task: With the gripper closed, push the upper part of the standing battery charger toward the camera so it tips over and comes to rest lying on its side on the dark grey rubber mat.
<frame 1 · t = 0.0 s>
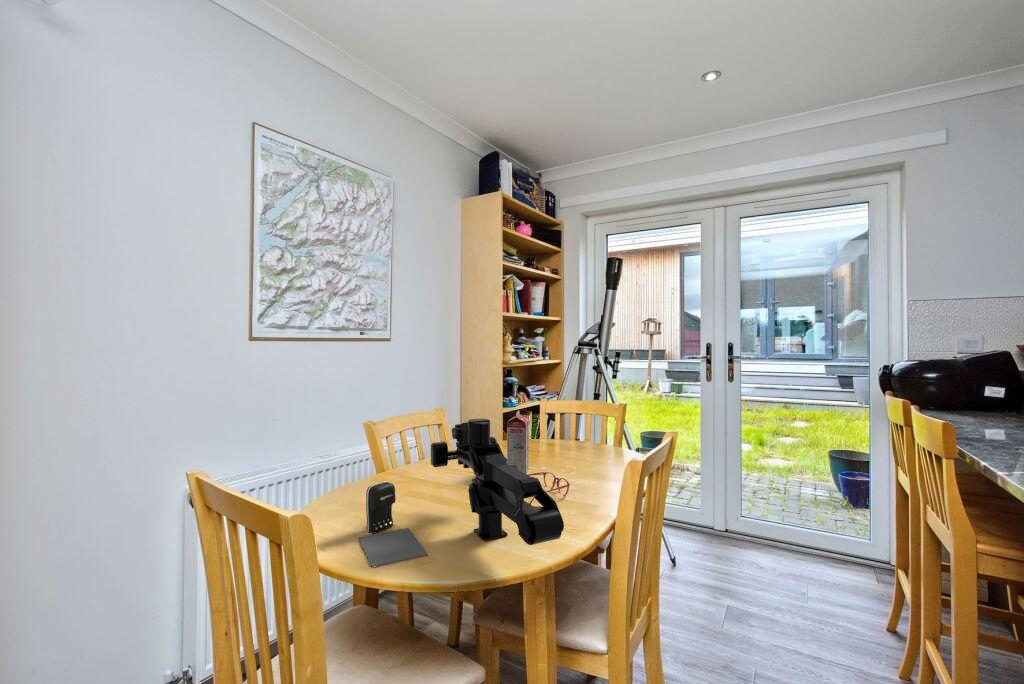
hand: (454, 445, 137), 17 cm above the table, tool horizontal, fingers open, 9 cm apart
juice carton: (517, 474, 166), on the table
red eyeglasses: (536, 496, 144), on the table
battery charger: (381, 530, 118), on the table
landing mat: (391, 546, 108), on the table
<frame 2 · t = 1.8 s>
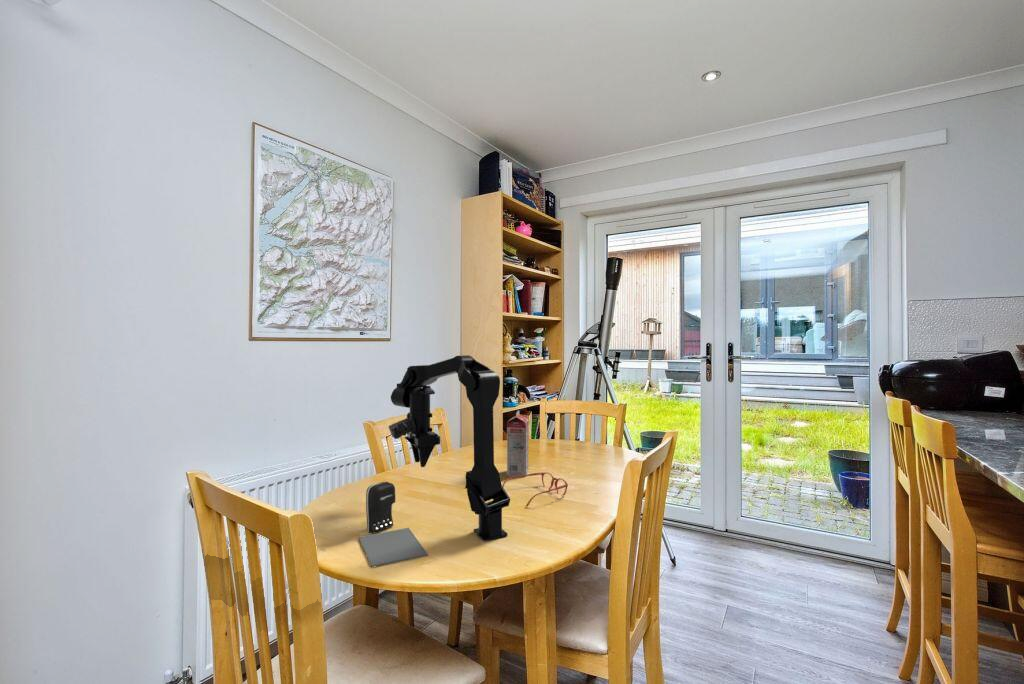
hand: (420, 464, 133), 12 cm above the table, tool pointing down, fingers open, 5 cm apart
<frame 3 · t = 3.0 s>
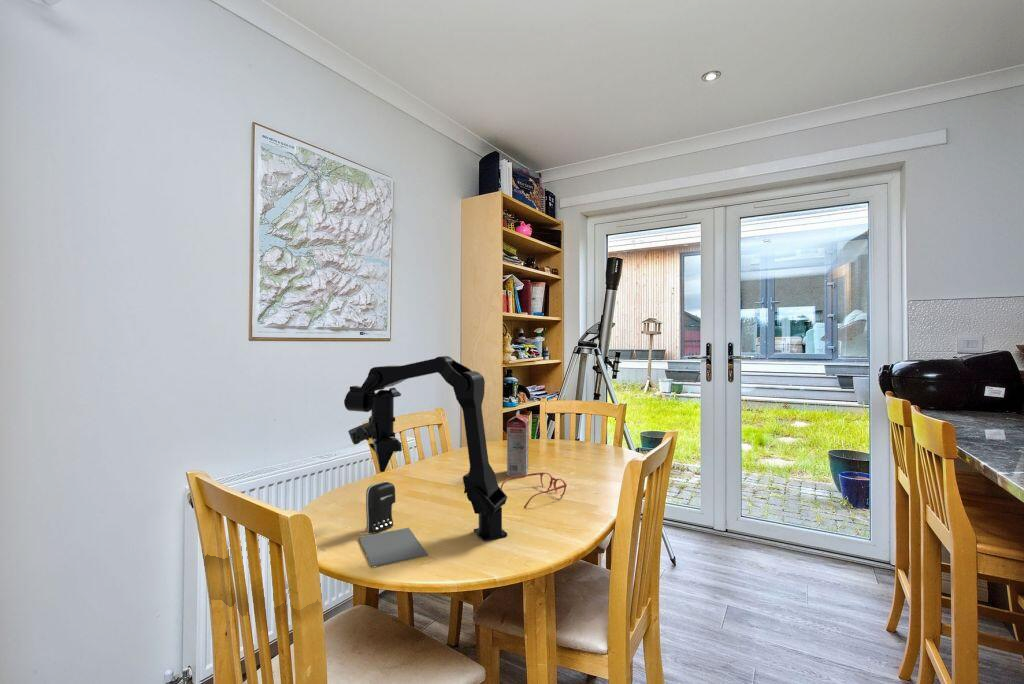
hand: (382, 471, 125), 12 cm above the table, tool pointing down, fingers closed
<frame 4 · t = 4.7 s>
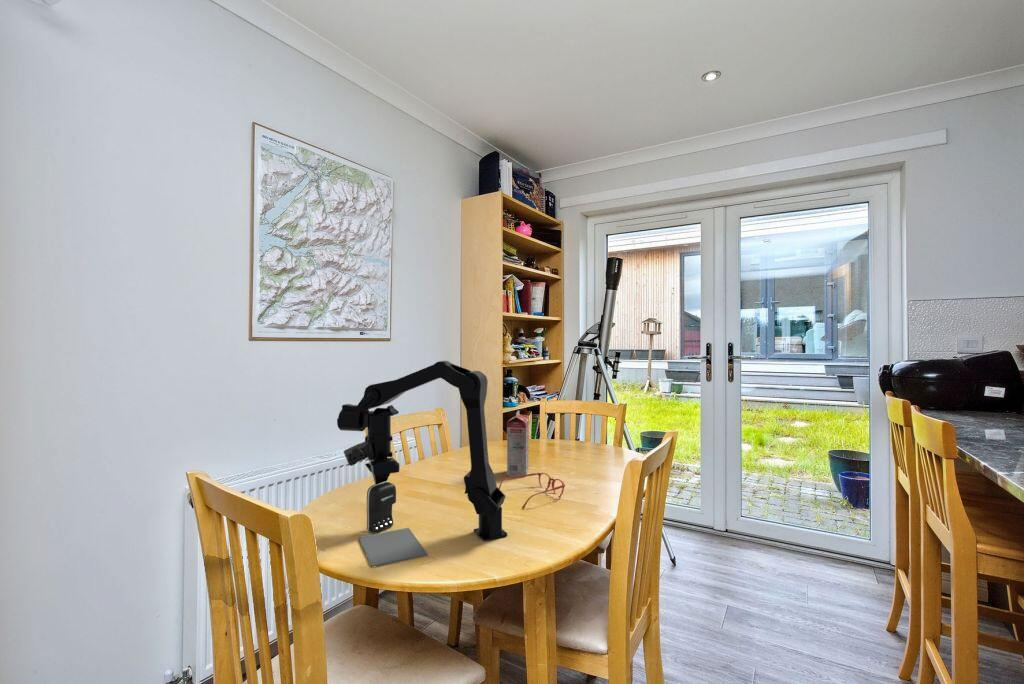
hand: (379, 492, 121), 8 cm above the table, tool pointing down, fingers closed
battery charger: (381, 529, 118), on the table, touching gripper
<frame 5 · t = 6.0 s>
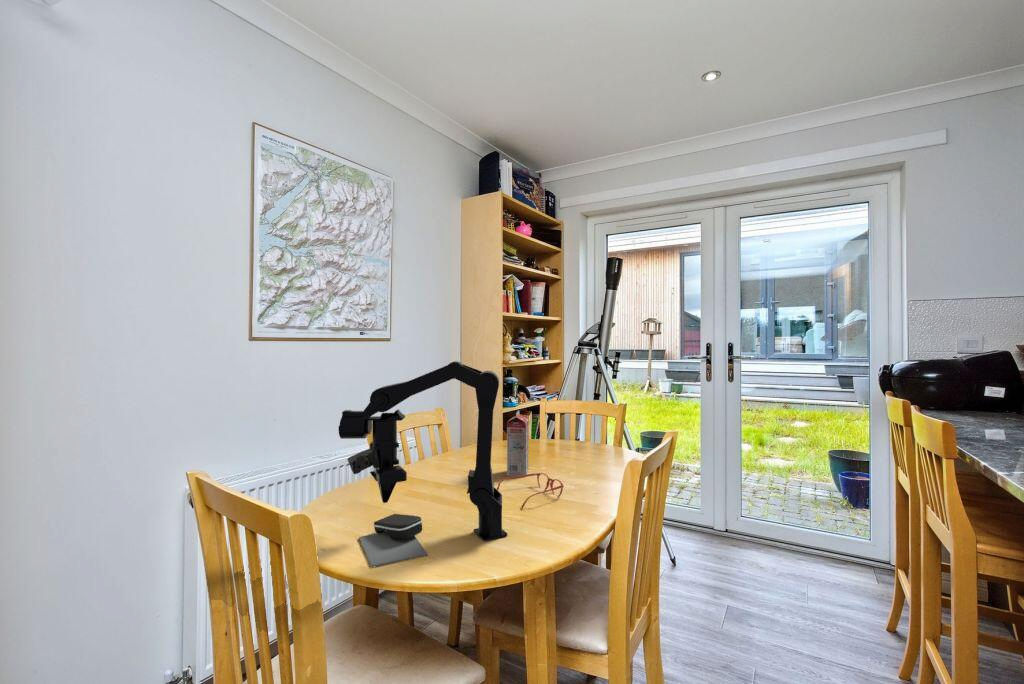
hand: (385, 502, 114), 8 cm above the table, tool pointing down, fingers closed
battery charger: (384, 525, 117), point 1 cm above the table, touching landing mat
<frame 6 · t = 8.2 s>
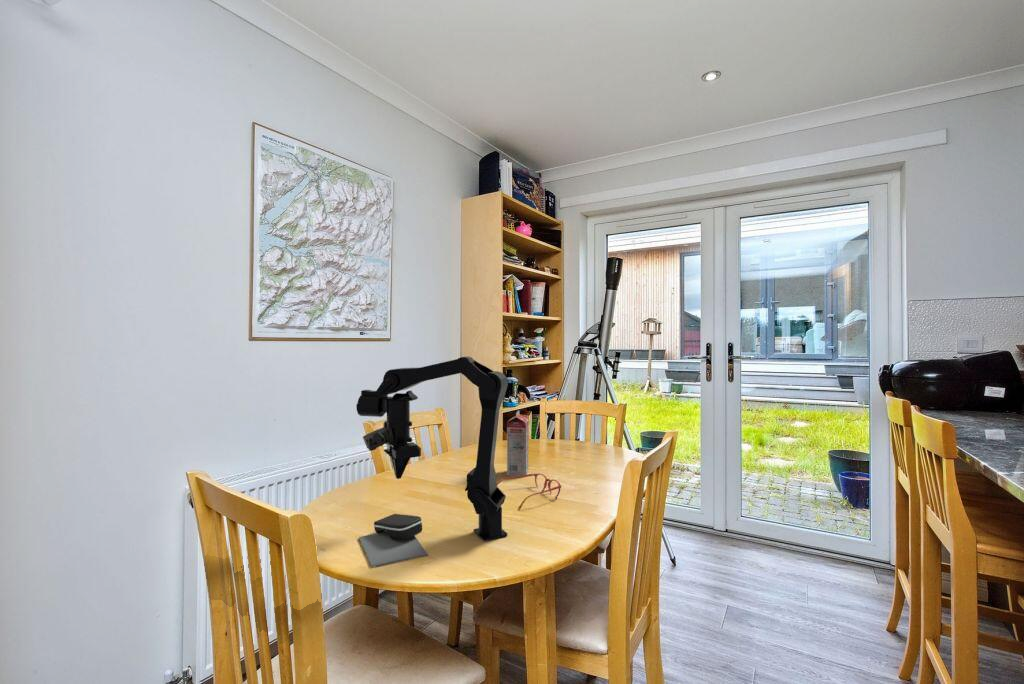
hand: (398, 478, 120), 12 cm above the table, tool pointing down, fingers closed
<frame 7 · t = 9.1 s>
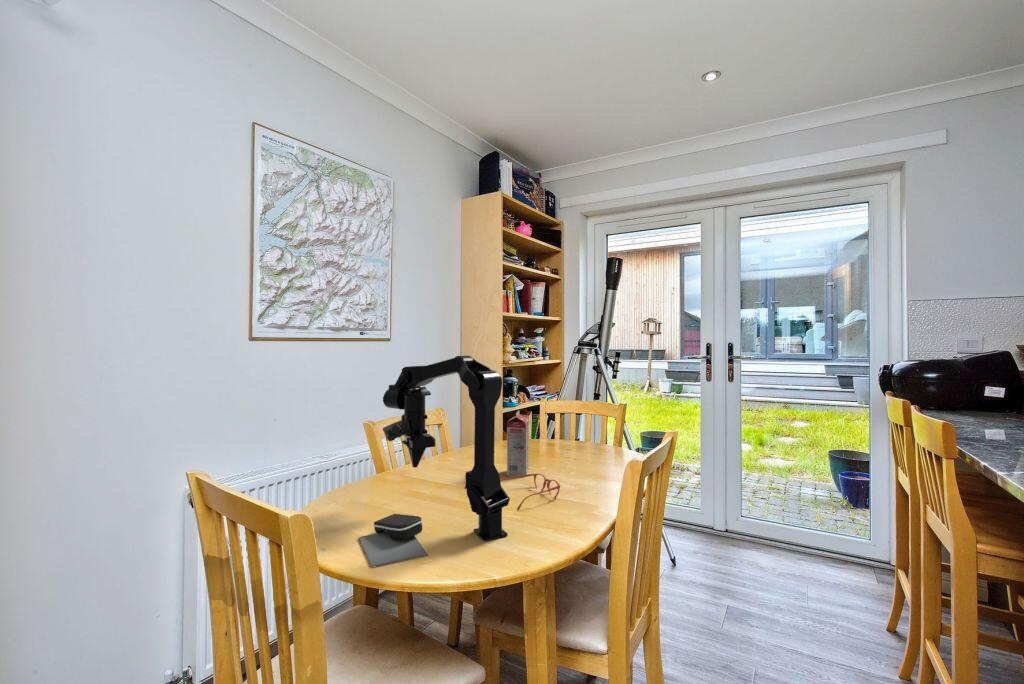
hand: (414, 467, 131), 12 cm above the table, tool pointing down, fingers closed
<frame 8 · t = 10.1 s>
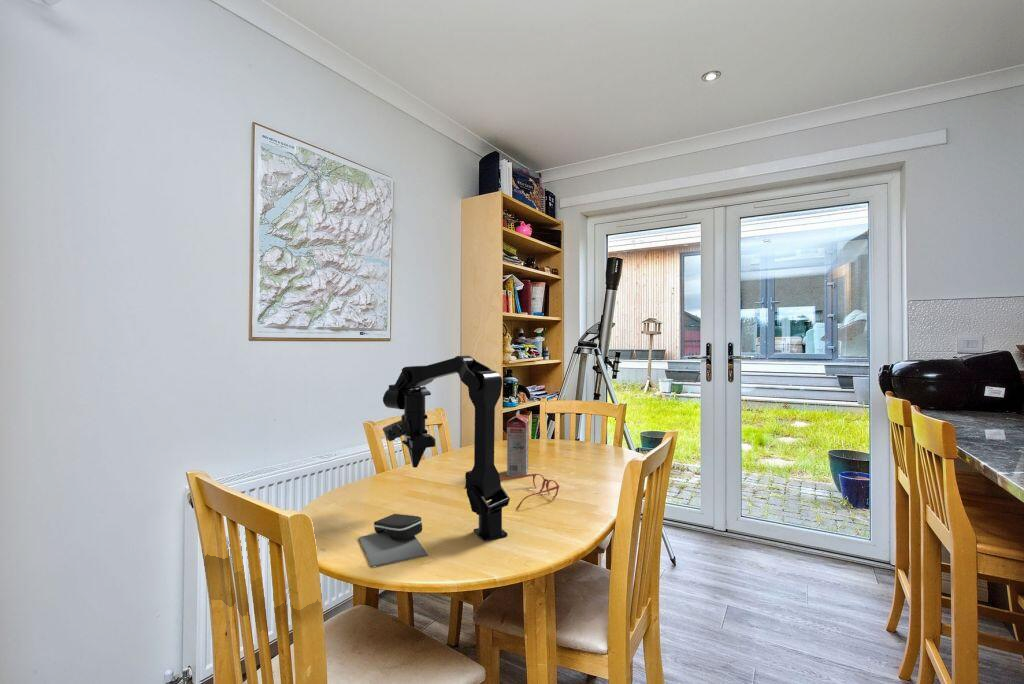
hand: (414, 467, 131), 12 cm above the table, tool pointing down, fingers closed
at the end: battery charger tilted 81°; battery charger touching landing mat, table; battery charger inside the target area (2.8 cm from its centre), point 1.2 cm above the table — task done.
